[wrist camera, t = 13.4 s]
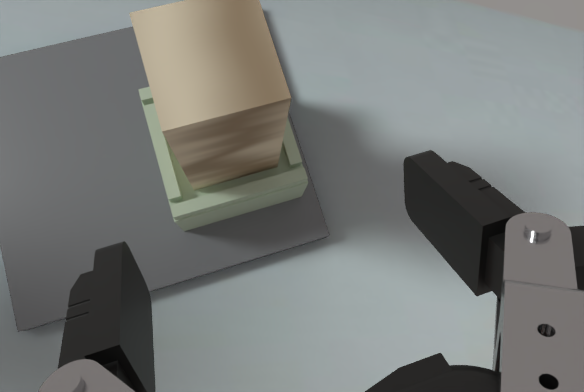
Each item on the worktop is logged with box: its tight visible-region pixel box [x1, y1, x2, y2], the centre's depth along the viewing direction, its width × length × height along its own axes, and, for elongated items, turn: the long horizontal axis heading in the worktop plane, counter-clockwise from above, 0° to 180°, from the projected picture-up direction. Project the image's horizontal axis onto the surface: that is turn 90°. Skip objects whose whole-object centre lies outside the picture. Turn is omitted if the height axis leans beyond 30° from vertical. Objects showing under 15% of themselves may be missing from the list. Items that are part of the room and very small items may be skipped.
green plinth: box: [138, 87, 308, 231], centre depth 30 cm, size 8×8×5 cm
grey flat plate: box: [0, 27, 329, 332], centre depth 32 cm, size 20×18×1 cm
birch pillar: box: [130, 0, 291, 190], centre depth 23 cm, size 5×5×10 cm
